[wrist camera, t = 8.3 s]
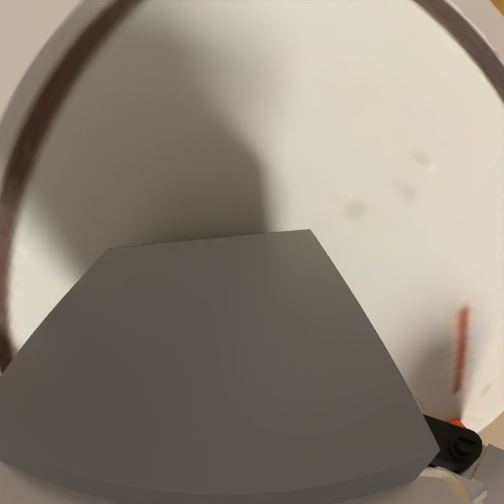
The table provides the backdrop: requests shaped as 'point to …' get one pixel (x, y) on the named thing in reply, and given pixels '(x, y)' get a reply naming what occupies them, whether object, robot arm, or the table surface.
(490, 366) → the table surface
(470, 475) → the robot arm
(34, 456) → the grey matte cube
